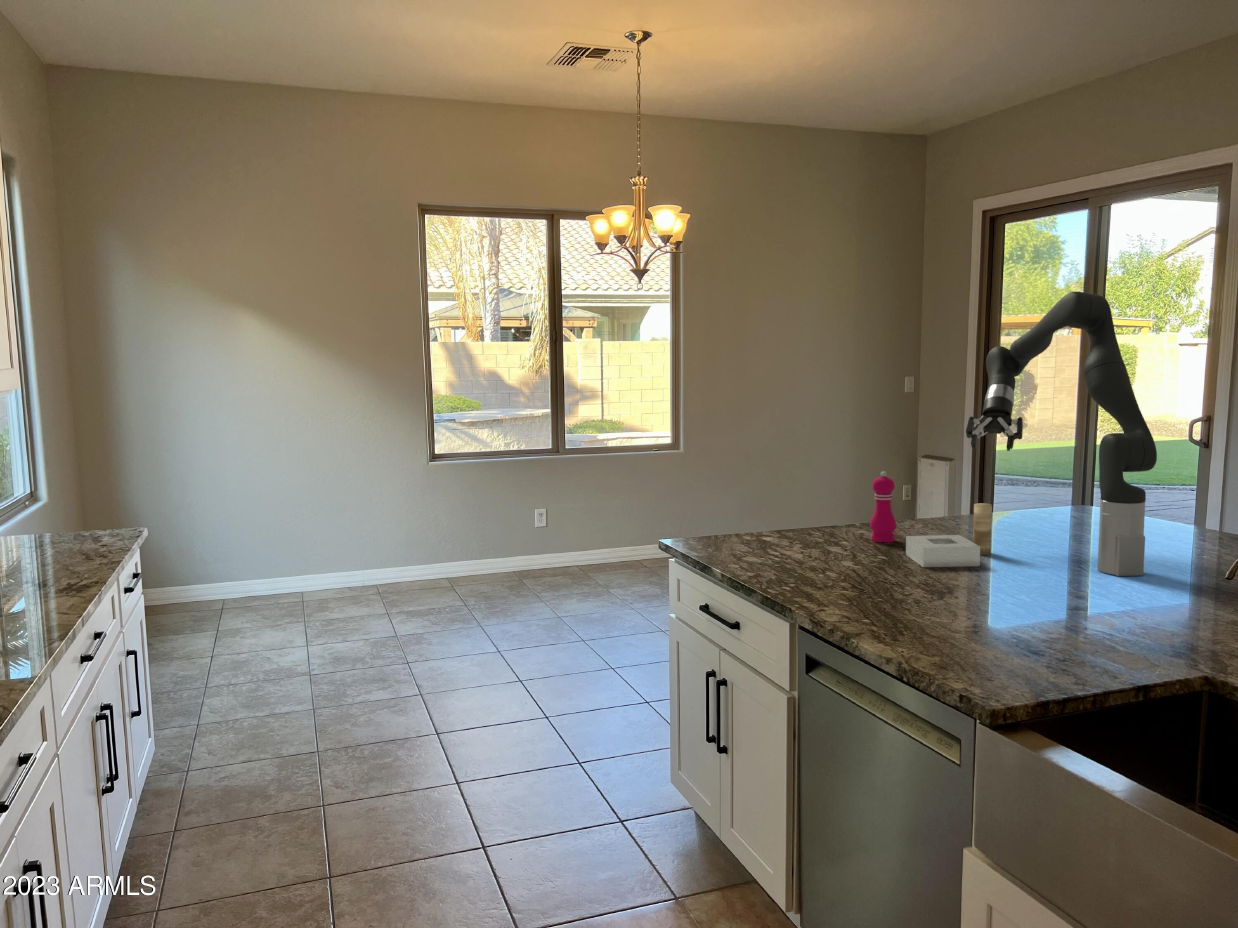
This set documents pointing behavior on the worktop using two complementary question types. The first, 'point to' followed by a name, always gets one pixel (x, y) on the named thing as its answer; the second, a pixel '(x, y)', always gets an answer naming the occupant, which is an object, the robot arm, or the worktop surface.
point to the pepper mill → (883, 510)
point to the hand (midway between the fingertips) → (991, 448)
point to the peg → (982, 527)
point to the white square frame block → (942, 551)
